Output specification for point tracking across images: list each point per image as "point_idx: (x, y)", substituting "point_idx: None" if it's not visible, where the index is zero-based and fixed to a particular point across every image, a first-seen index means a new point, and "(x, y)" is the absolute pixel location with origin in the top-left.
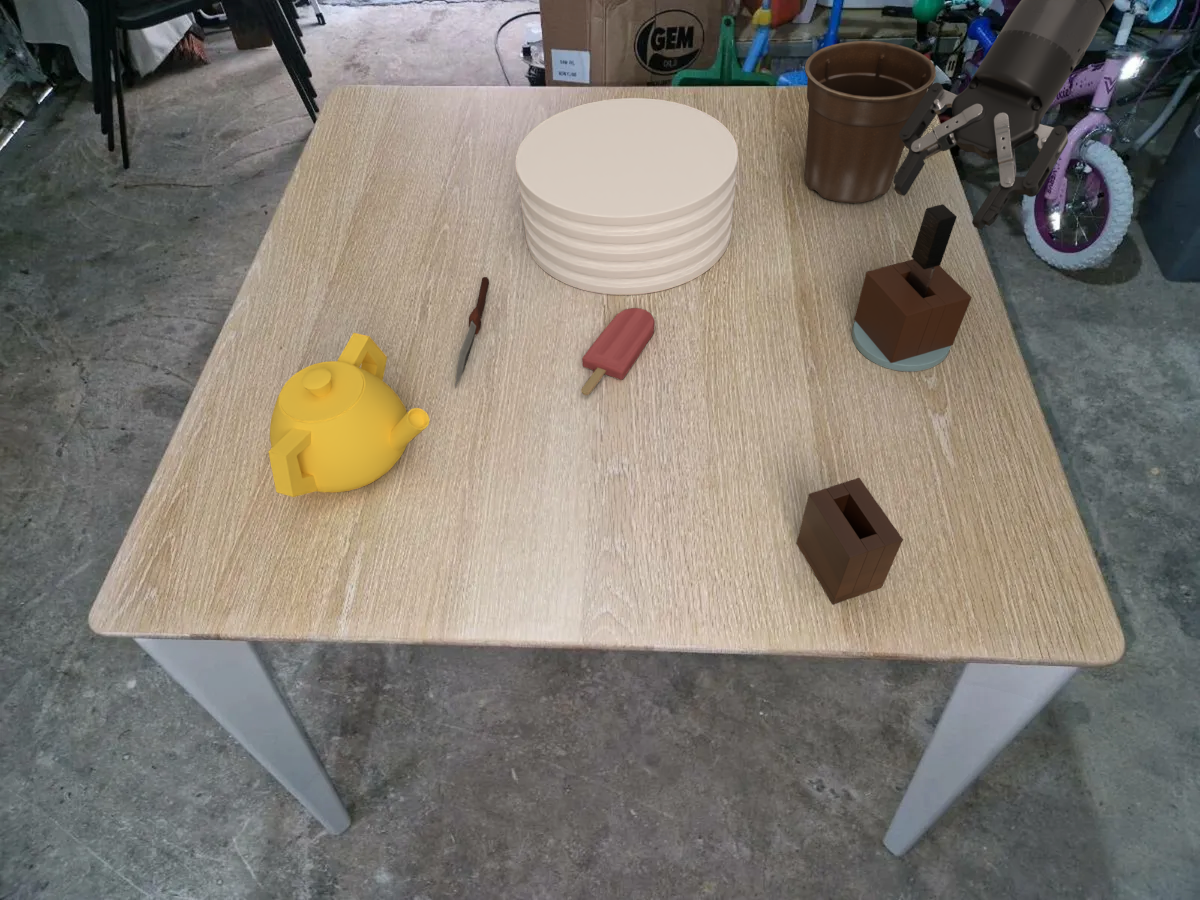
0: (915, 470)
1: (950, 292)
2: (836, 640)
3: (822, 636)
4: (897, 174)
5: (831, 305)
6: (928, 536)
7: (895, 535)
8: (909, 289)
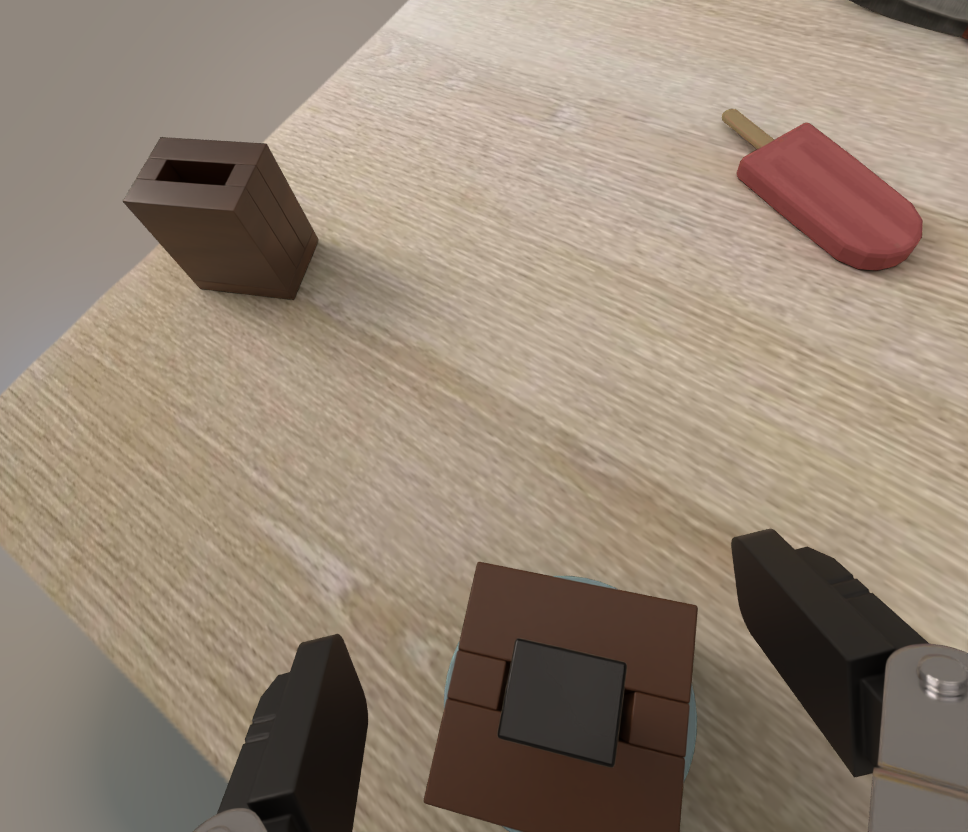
0: (290, 455)
1: (477, 758)
2: None
3: None
4: (832, 567)
5: None
6: (201, 388)
7: (133, 195)
8: None
